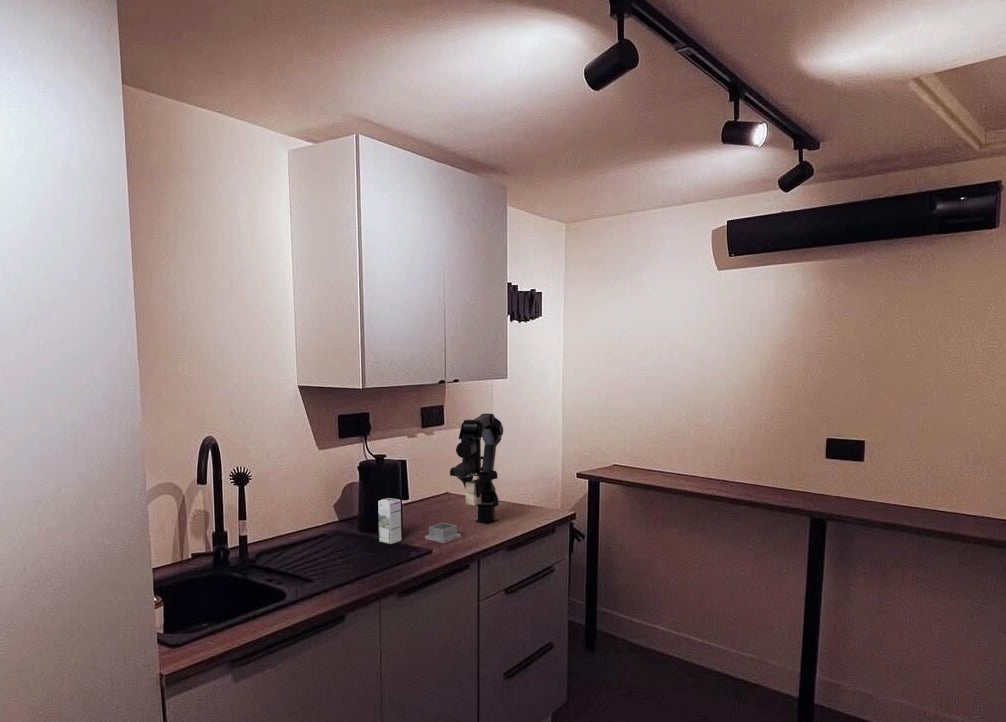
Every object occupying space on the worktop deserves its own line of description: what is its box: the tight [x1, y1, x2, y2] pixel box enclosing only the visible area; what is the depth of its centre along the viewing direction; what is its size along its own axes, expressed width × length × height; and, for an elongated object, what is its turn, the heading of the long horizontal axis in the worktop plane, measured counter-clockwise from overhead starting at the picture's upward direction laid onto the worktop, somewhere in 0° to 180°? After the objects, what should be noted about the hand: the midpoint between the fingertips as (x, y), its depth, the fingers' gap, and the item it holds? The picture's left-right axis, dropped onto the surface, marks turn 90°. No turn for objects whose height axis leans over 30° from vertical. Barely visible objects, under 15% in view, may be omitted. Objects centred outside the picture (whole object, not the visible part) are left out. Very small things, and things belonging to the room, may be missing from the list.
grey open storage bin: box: [424, 522, 462, 544], centre depth 215 cm, size 9×9×4 cm
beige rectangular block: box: [465, 480, 481, 507], centre depth 222 cm, size 4×4×8 cm
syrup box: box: [377, 497, 402, 545], centre depth 212 cm, size 6×6×14 cm
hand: (473, 496), depth 222 cm, fingers closed on beige rectangular block, 4 cm apart
